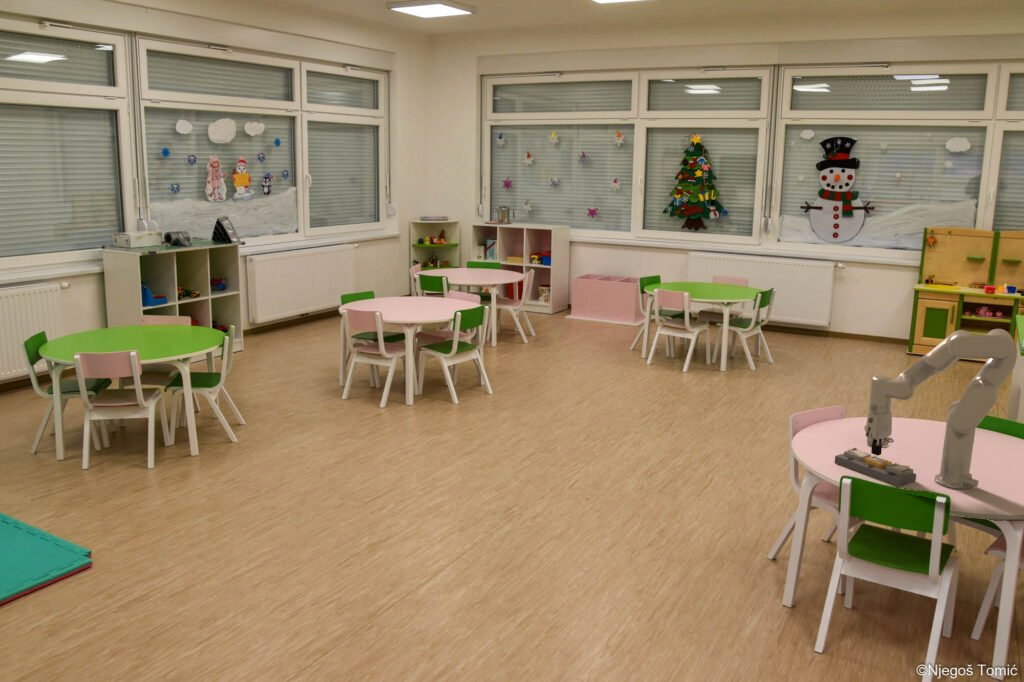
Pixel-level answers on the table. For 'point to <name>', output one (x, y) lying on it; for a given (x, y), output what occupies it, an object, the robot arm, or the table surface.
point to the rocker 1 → (857, 452)
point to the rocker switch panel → (876, 469)
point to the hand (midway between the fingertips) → (876, 454)
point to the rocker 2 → (900, 467)
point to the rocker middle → (878, 459)
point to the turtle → (883, 441)
